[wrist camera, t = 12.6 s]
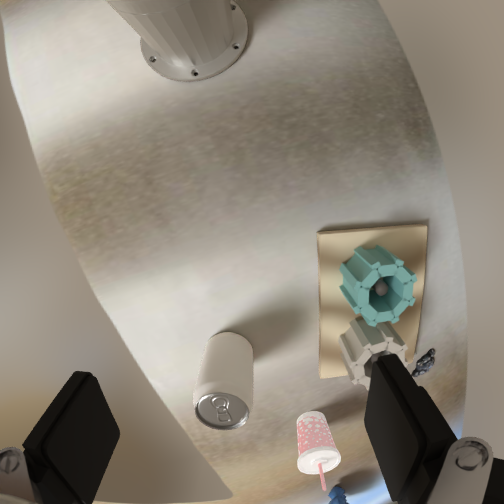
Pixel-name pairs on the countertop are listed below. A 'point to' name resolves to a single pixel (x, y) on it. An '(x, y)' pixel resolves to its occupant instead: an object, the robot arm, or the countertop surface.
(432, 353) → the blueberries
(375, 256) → the teal gear
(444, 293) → the countertop surface
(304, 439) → the beverage cup
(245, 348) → the can
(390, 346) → the gear
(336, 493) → the blue flower ornament
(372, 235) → the board
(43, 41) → the countertop surface
